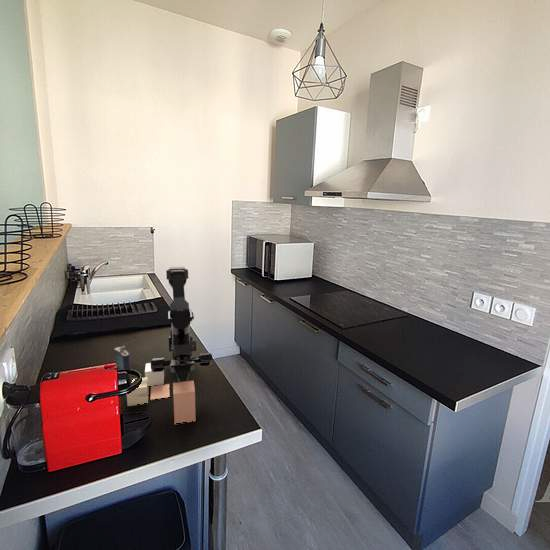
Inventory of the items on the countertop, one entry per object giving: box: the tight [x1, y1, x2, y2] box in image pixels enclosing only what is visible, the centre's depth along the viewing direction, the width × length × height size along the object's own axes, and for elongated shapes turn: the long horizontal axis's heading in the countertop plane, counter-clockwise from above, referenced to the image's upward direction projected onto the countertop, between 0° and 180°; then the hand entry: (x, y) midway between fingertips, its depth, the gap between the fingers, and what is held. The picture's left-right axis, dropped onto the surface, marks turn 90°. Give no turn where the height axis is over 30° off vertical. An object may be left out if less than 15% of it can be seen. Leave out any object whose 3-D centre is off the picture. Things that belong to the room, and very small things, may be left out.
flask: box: [113, 345, 131, 371], centre depth 122 cm, size 9×3×11 cm, turn 48°
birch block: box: [126, 376, 150, 407], centre depth 107 cm, size 6×6×6 cm
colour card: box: [150, 383, 171, 401], centre depth 112 cm, size 8×6×1 cm
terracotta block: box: [172, 380, 197, 425], centre depth 99 cm, size 6×6×10 cm
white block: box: [144, 362, 165, 386], centre depth 118 cm, size 6×6×6 cm
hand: (183, 389), depth 102 cm, fingers closed, pressing on terracotta block
